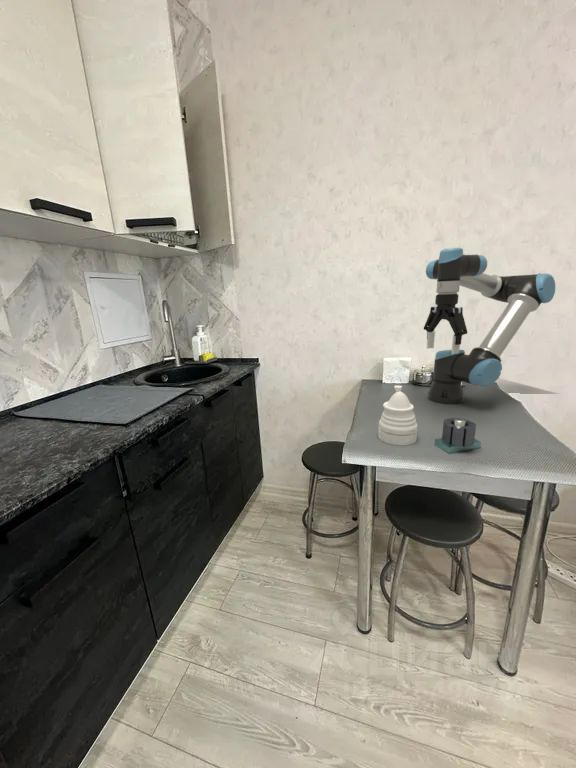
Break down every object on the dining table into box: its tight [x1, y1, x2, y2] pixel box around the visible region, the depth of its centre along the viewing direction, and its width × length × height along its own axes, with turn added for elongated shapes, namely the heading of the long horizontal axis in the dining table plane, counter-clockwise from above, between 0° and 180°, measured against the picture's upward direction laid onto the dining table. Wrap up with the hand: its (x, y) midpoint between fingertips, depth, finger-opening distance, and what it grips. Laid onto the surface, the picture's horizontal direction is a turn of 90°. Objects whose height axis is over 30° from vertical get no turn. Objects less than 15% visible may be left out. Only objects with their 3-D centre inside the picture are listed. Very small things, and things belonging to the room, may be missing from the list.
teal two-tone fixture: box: [434, 418, 482, 454], centre depth 101 cm, size 12×6×9 cm, turn 104°
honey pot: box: [377, 385, 419, 446], centre depth 108 cm, size 13×13×18 cm
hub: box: [441, 417, 477, 447], centre depth 101 cm, size 9×9×6 cm
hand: (441, 350), depth 121 cm, fingers open, 13 cm apart
